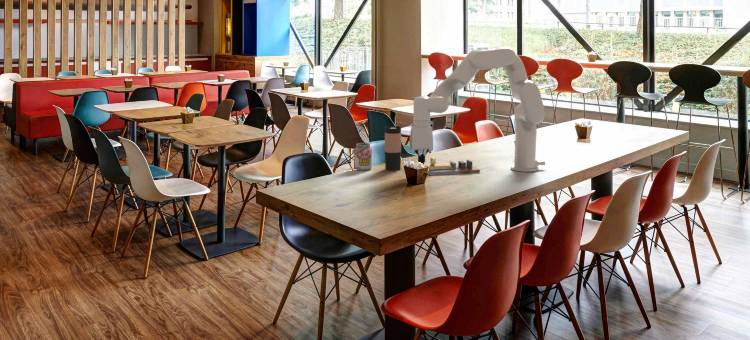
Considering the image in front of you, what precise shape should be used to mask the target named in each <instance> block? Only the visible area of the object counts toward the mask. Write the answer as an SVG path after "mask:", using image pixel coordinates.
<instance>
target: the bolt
mask: <svg viewBox="0 0 750 340" xmlns="http://www.w3.org/2000/svg"><path fill="white" fill-rule="evenodd" d="M436 163H437V161H436V157H430V164H429V165H427V166H428V167H429V170H438V169H453V165H452V164H450V163H449V164H436ZM427 166H426V167H427Z"/></svg>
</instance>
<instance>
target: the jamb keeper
mask: <svg viewBox="0 0 750 340" xmlns="http://www.w3.org/2000/svg"><path fill="white" fill-rule="evenodd" d="M457 162H458V163H457V166H456V169H457V170H459V174H458V175H462V174H463V175H464V174H480V173H481V172H480V171H481V170H480V168H478V167H476V166H474V165H473V161H472V160H471V159H466V161H465V160H458V161H457Z"/></svg>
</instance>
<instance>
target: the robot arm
mask: <svg viewBox="0 0 750 340" xmlns="http://www.w3.org/2000/svg"><path fill="white" fill-rule="evenodd" d="M501 68H503V70H504V71H505V74H506V77H507V80H508V83H509V88H510V92H511V95H512V97H513V99H515V100H517V101H520V102H519V104H518V105H517V106H516V107H515V109H514V120H515V121H514V122H515V138H514V139H515V140H514V163H513V165H511V166H510V170H512V171H514V172H520V173H521V172H523V173H530V172H537V171H539V167H538V166H545V165H546V161H545V160H537V159H536V156H537V155H536V152H537V125H539V124H541V123H542V122H543V121H544V118H545V115H546V113H545V107H544V102H543V98H542V94H541V91H540V89H539V86H538V85H537V84H536V83H535V82H534V81H532V80H529V78H528V75H527V70H526V68H525V65H524V62H523V61H522V59H521V58H520V56H519V55H518V54H516V52H515V51H514V49H512V47H508V46H496V47H493V48H492V49H483V50H481V49H473V50H471V51H469V52H468V53H467V55H466V56H465V57H464V59H463V60H462V61H461V62H460V63H459V65H458V66H457V67H456V68H454V70H453V71H452V72H451V73H450V75H448V76H447V77H446V78H445V79H444V80H443V81H442V82H441V83H439V84H438V85H437V87H436V88H434V90H433V91H432V93H431V94H430V95H429V96H426V95H424V96H422V95H421V96H415V97H414V98H413V126H411V127H410V128H411V129H410V136H409V151H410V152H412V153H415V154H416V155H417V162H421V163H423V164H422V165H425V163H426V156H427V154H428V153H430V152H432V151H434V135H433V127H432V126H431V125H434V120H431V113H433V114H443V113H446V112H447V110H448V109H449V107H450V102H449V101H448V99H449V98H450V97H451V96H452V95H454V93H456V92H458V91H459V90H462V89H463V88H465V87H467V85H468V84H469V83H470V82H471V81H472V80H473V78H474V77H475V76H476V75H477V74H478V72H479V71H482V70H485V71H486V70H493V69H494V70H495V69H501ZM421 150H422V152H421Z"/></svg>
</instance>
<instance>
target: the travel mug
mask: <svg viewBox="0 0 750 340" xmlns="http://www.w3.org/2000/svg"><path fill="white" fill-rule="evenodd" d="M401 160H402V127H401V126H396V125H394V126H393V125H392V126H385V127H384V164H385V165H384V167H385V171H388V172H397V170H398V171H400V170H401V168H402V167H401V164H402V163H401V162H402V161H401Z"/></svg>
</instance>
